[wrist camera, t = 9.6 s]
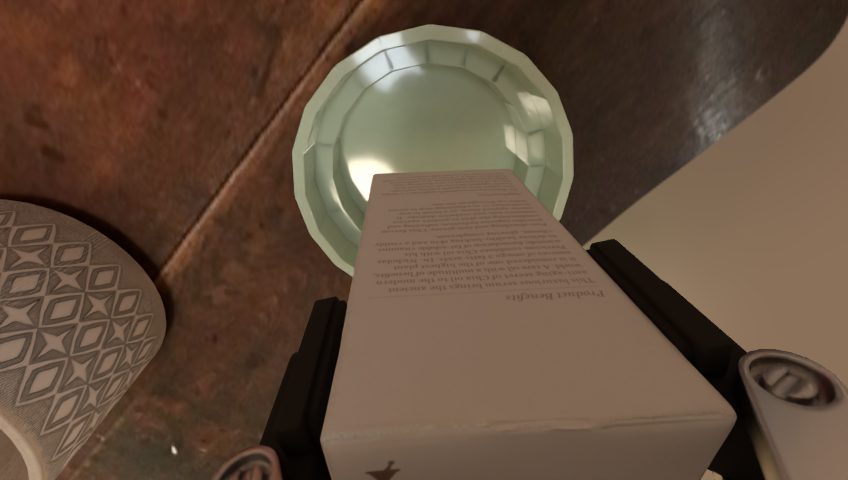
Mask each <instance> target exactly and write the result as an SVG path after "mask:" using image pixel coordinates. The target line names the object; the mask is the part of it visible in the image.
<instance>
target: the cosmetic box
mask: <svg viewBox="0 0 848 480" xmlns="http://www.w3.org/2000/svg"><path fill="white" fill-rule="evenodd" d="M736 419H737V415H736V413H735V411H734V409H733V408H732V407H731V405H730V404H729V403H728V402H727V401H726V400H725V399H724V398H723V397H722V396H721V394H720V393H719V392H718V391H717V390H716V389H715V388H714V387H713V386H712V385H711V384H710V383H709V382H708V381H707V380H706V379H705V378H704V377H703V376H702V375H701V374H700V373H699V372H698V371H697V369H696V368H695V367H694V366H693V365H692V364H691V363H690V362H689V361H688V360H687V359H686V358H685V357H684V356H683V355H682V353H681V352H680V351H679V350H678V349H677V348H676V347H675V346H674V345H673V344H672V343H671V342H670V341H669V340H668V339H667V338H666V337H665V336H664V334H663V333H662V332H661V331H660V330H659V329H658V328H657V327H656V326H655V325H654V324H653V322H652V321H651V320H650V319H649V318H648V317H647V316H646V315H645V314H644V313H643V312H642V311H641V310H640V309H639V308H638V307H637V306H636V305H635V303H634V302H633V301H632V300H631V299H630V298H629V297H628V296H627V295H626V294H625V293H624V292H623V291H622V289H621V288H620V287H619V286H618V285H617V284H616V283H615V282H614V281H613V280H612V279H611V278H610V277H609V275H608V274H607V273H606V272H605V271H604V270H603V269H602V268H601V267H600V266H599V265H598V264H597V262H596V261H595V260H593V258H592V257H591V256H590V255H589V254H588V253H587V252H586V250H585V249H584V248H583V247H582V246H581V245H580V244H579V243H578V242H577V241H576V240H575V239H574V238H573V236H572V235H571V234H570V233H569V232H568V231H567V230H566V229H565V228H564V227H563V226H562V225H561V224H560V222H559V221H558V220H557V219H556V218H555V217H554V216H553V215H552V214H551V213H550V212H549V211H548V209H547V208H546V207H545V206H544V205H543V204H542V203H541V202H540V201H539V200H538V199H537V198H536V196H535V195H534V194H533V193H532V192H531V191H530V190H529V189H528V188H527V187H526V186H525V184H524V183H523V182H522V181H521V180H520V179H519V178H518V177H517V176H516V175H515V174H514V173H513V172H512V171H511V170H510V169H487V170H460V171H436V172H412V173H384V174H380V173H378V174H374V175H373V178H372V182H371V187H370V193H369V198H368V203H367V209H366V215H365V218H364V223H363V228H362V233H361V238H360V243H359V248H358V254H357V259H356V264H355V269H354V275H353V279H352V285H351V289H350V295H349V300H348V305H347V311H346V317H345V322H344V327H343V332H342V339H341V345H340V350H339V355H338V360H337V364H336V369H335V373H334V378H333V383H332V387H331V392H330V397H329V401H328V406H327V411H326V415H325V420H324V424H323V428H322V433H321V438H320V442H321V445H322V449H323V453H324V456H325V459H326V463H327V466H328V469H329V473H330V476H331V479H332V480H701V478H702V476H703V475H704V473H705V471H706V470H707V468H708V467H709V465H710V463H711V462H712V460H713V458H714V457H715V455H716V453H717V452H718V450H719V449H720V447H721V446H722V444H723V442H724V441H725V439H726V438H727V436H728V434H729V433H730V431H731V430H732V428H733V426H734V424H735V422H736Z"/></svg>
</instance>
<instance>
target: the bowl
mask: <svg viewBox="0 0 848 480" xmlns="http://www.w3.org/2000/svg"><path fill="white" fill-rule="evenodd" d="M292 161H293V179H294V195H295V198H296V201H297V203H298V206H299V208H300V211H301V213H302V216H303V218H304V221H305V223H306V226H307V228H308V231H309V233H310V235H311V236H312V238H313V239H314V240H315V241H316V242H317V244H318V245H319V246H320V247H321V249H322V250H323V251H324V252H325V253H326V255H327V256H328V257H329V258H330V259H331V261H332V262H333V263H334V264H335V265H336V266H337V267H339V268H340V269H342V270H343V271H345V272H346V273H348V274H349V275H351V276H352V277H353V275H354V269H355V264H356V259H357V254H358V248H359V243H360V238H361V233H362V228H363V223H364V218H365V215H366V209H367V203H368V198H369V193H370V187H371V182H372V178H373V175H374V174H378V173H380V174H384V173H412V172H436V171H460V170H487V169H510V170H511V171H512V172H513V173H514V174H515V175H516V176H517V177H518V178H519V179H520V180H521V181H522V182H523V183H524V184H525V186H526V187H527V188H528V189H529V190H530V191H531V192H532V193H533V194H534V195H535V196H536V198H537V199H538V200H539V201H540V202H541V203H542V204H543V205H544V206H545V207H546V208H547V209H548V211H549V212H550V213H551V214H552V215H553V216H554V217H555V218H556V219H557V220H558V221H559V220H560V219H561V216H562V213H563V210H564V207H565V204H566V200H567V197H568V194H569V190H570V187H571V184H572V181H573V135H572V131H571V128H570V125H569V122H568V120H567V117H566V114H565V111H564V109H563V106H562V103H561V100H560V98H559V95H558V93H557V91H556V89H555V88H554V87H553V86H552V85H551V84H550V82H549V81H548V80H547V79H546V78H545V77H544V75H543V74H542V73H541V72H540V71H539V69H538V68H537V67H536V66H535V65H534V64H533V62H532V61H531V60H530V59H529V58H528V57H527V56H526V55H525V54H523V53H522V52H520V51H518V50H516V49H514V48H512V47H511V46H509V45H507V44H505V43H503V42H501V41H500V40H498V39H496V38H494V37H492V36H490V35H489V34H487V33H485V32H481V31H479V30H472V29H464V28H456V27H449V26H441V25H434V24H431V25H430V24H428V25H424V26H419V27H415V28H411V29H407V30H403V31H398V32H394V33H390V34H386V35H382V36H379V37H376V38H375V39H373V40H372V41H370V42H369V43H367V44H366V45H364V46H363V47H361V48H360V49H359V50H357V51H356V52H354V53H353V54H351V55H350V56H348V57H347V58H345V59H344V60H342V61H341V62H339V63H338V64H336V65H335V66H334V67H333V68H332V70H331V71H330V73H329V74H328V75H327V77H326V78H325V79H324V81H323V82H322V84H321V85H320V86H319V88H318V89H317V91H316V92H315V93H314V95H313V96H312V97H311V99H310V100H309V102H308V103H307V104H306V107H305V108H304V112H303V115H302V118H301V122H300V125H299V129H298V132H297V136H296V139H295V143H294V146H293V150H292Z"/></svg>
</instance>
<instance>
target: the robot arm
mask: <svg viewBox="0 0 848 480" xmlns="http://www.w3.org/2000/svg"><path fill="white" fill-rule="evenodd" d="M586 252H587V253H588V254H589V255H590V256H591V257H592V258H593V260H595V261H596V262H597V264H598V265H599V266H600V267H601V268H602V269H603V270H604V271H605V272H606V273H607V274H608V275H609V277H610V278H611V279H612V280H613V281H614V282H615V283H616V284H617V285H618V286H619V287H620V288H621V289H622V291H623V292H624V293H625V294H626V295H627V296H628V297H629V298H630V299H631V300H632V301H633V302H634V303H635V305H636V306H637V307H638V308H639V309H640V310H641V311H642V312H643V313H644V314H645V315H646V316H647V317H648V318H649V319H650V320H651V321H652V322H653V324H654V325H655V326H656V327H657V328H658V329H659V330H660V331H661V332H662V333H663V334H664V336H665V337H666V338H667V339H668V340H669V341H670V342H671V343H672V344H673V345H674V346H675V347H676V348H677V349H678V350H679V351H680V352H681V353H682V355H683V356H684V357H685V358H686V359H687V360H688V361H689V362H690V363H691V364H692V365H693V366H694V367H695V368H696V369H697V371H698V372H699V373H700V374H701V375H702V376H703V377H704V378H705V379H706V380H707V381H708V382H709V383H710V384H711V385H712V386H713V387H714V388H715V389H716V390H717V391H718V392H719V393H720V394H721V396H722V397H723V398H724V399H725V400H726V401H727V402H728V403H729V404H730V405H731V407H732V408H733V409H734V411H735V413H736V415H737V419H736V422H735V424H734V426H733V428H732V430H731V431H730V433H729V434H728V436H727V438H726V439H725V441H724V442H723V444H722V446H721V447H720V449H719V450H718V452H717V453H716V455H715V457H714V458H713V460H712V462H711V463H710V465H709V467H708V468H707V469H708V470H711V471H712V473H713V477H714V480H848V389H847V387H846V386H845V385H844V383H842V381H840V379H839V378H838V377H837V376H836V375H835V374H834V373H832V372H831V371H829V370H828V369H826V368H825V367H824V366H822V365H820V364H818V363H816V362H814V361H812V360H810V359H808V358H806V357H803V356H800V355H797V354H794V353H791V352H786V351H781V350H775V349H759V350H754V351H750V352H748V353H747V352H746V351H745V350H743V349H742V348H741V347H740V346H739V345H738V344H737V343H735V342H734V341H733V340H732V339H731V338H730V337H729V336H727V335H726V334H725V333H724V332H723V331H722V330H721V329H719V328H718V327H717V326H716V325H715V324H714V323H712V322H711V321H710V320H709V319H708V318H707V317H706V316H704V315H703V314H702V313H701V312H700V311H699V310H697V309H696V308H695V307H694V306H693V305H692V304H691V303H689V302H688V301H687V300H686V299H685V298H684V297H683V296H681V295H680V294H679V293H678V292H677V291H676V290H675V289H673V288H672V287H671V286H670V285H669V284H668V283H666V282H664V281H663V280H661V279H660V278H659V277H658V276H656V275H655V274H654V273H653V272H652V271H651V270H650V269H649V268H647V267H646V266H645V265H644V264H643V263H642V262H641V261H639V260H638V259H637V258H636V257H635V256H634V255H633V254H631V253H630V252H629V251H628V250H627V249H626V248H625V247H623V246H622V245H621V244H620V243H619V242H618V241H616V240H615V239H611V240H606V241H601V242H596V243H593V244H591V246H590V249H589V250H586ZM346 311H347V303H346V302H345V301H344V300H342V301H339V299H338V298H337V297H331V298H327V299H322V300H317V301H316V302H315V304H314V307H313V310H312V313H311V316H310V318H309V321H308V324H307V327H306V330H305V333H304V336H303V339H302V342H301V345H300V348H299V351H298V352H296V353H294V354H293V355H292V356H291V358H290V361H289V363H288V366H287V369H286V372H285V375H284V377H283V380H282V383H281V386H280V389H279V391H278V394H277V397H276V400H275V403H274V405H273V408H272V411H271V414H270V417H269V419H268V422H267V425H266V428H265V431H264V433H263V436H262V439H261V442H260V445H258V446H251V447H249V448H246V449H244V450H242V451H240V452H238V453H237V454H235V455H234V456H232V457H231V458H229V459H228V460H227V461H226V462H225V463H224V464H223V465H222V466H221V467H220V468H219V469H218V470H217V472H216V473H215V474H214V476H213V477H212V479H211V480H332V479H331V476H330V473H329V469H328V466H327V463H326V459H325V456H324V453H323V449H322V445H321V442H320V438H321V433H322V428H323V424H324V420H325V415H326V411H327V406H328V401H329V397H330V392H331V387H332V383H333V378H334V373H335V369H336V364H337V360H338V355H339V350H340V345H341V339H342V332H343V327H344V322H345V317H346Z"/></svg>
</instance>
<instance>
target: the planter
mask: <svg viewBox="0 0 848 480" xmlns="http://www.w3.org/2000/svg"><path fill="white" fill-rule="evenodd" d="M165 332H166V315H165V309H164V306H163V303H162V300H161V297H160V295H159V293H158V291H157V289H156V287H155V285H154V284H153V282H152V280H151V279H150V278H149V276H148V275H147V274H146V272H145V271H144V270H143V268H142V267H141V266H140V265H139V264H138V263H137V262H136V261H135V260H134V259H133V258H132V257H131V256H130V255H129V254H128V253H127V252H126V251H124V250H123V249H122V248H121V247H120V246H118V245H117V244H116V243H115V242H113V241H112V240H111V239H109V238H108V237H106V236H105V235H103V234H101V233H100V232H98V231H97V230H95V229H94V228H92V227H90V226H88V225H86V224H84V223H82V222H80V221H78V220H76V219H74V218H72V217H70V216H67V215H65V214H62V213H59V212H57V211H54V210H52V209H48V208H45V207H41V206H37V205H34V204H30V203H25V202H19V201H12V200H6V199H0V480H55V479H56V478H57V476H58V475H59V474H60V473H61V471H62V470H63V469H64V468H65V466H66V465H67V464H68V463H69V462H70V460H71V459H72V458H73V457H74V455H75V454H76V453H77V452H78V450H79V449H80V448H81V447H82V445H83V444H84V443H85V442H86V440H87V439H88V438H89V437H90V435H91V434H92V433H93V432H94V430H95V429H96V428H97V427H98V426H99V424H100V423H101V422H102V421H103V419H104V418H105V417H106V416H107V414H108V413H109V412H110V411H111V409H112V408H113V407H114V406H115V404H116V403H117V402H118V401H119V399H120V398H121V397H122V396H123V394H124V393H125V392H126V391H127V390H128V388H129V387H130V386H131V385H132V383H133V382H134V381H135V380H136V378H137V377H138V376H139V375H140V373H141V372H142V371H143V370H144V368H145V367H146V366H147V365H148V363H149V362H150V361H151V360H152V358H153V357H154V356H155V355H156V353H157V352H158V350H159V348H160V347H161V345H162V342H163V339H164V337H165Z"/></svg>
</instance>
